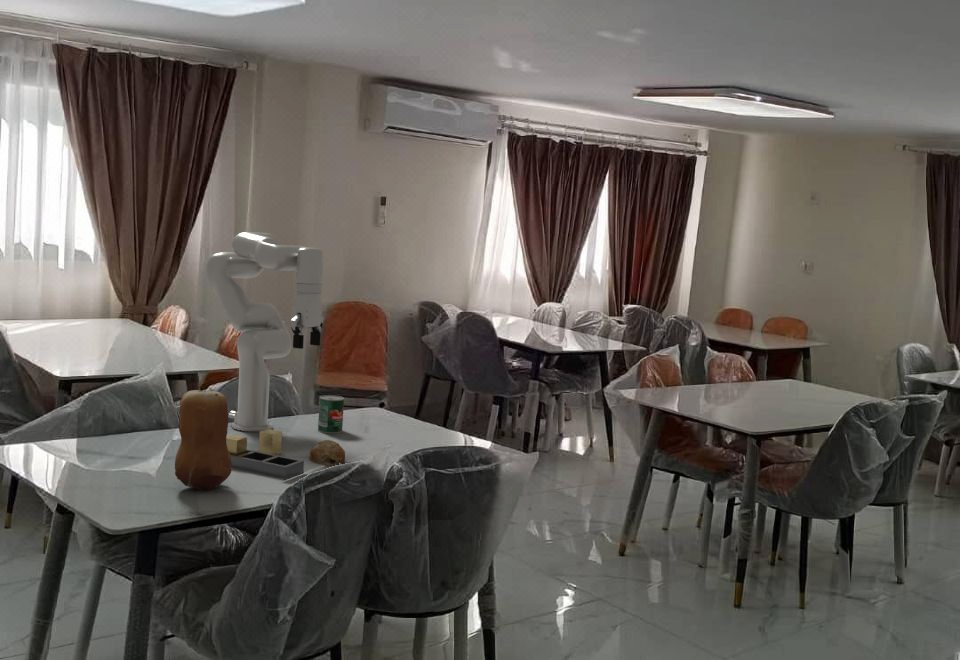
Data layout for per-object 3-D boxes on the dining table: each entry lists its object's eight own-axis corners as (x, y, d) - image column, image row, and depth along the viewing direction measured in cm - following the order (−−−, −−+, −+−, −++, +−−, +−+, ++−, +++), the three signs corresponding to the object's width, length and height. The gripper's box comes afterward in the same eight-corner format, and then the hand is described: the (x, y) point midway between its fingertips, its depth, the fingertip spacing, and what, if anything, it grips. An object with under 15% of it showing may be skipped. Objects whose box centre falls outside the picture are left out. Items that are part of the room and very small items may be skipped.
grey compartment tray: (211, 464, 268) (212, 452, 267) (231, 458, 276) (231, 446, 275) (285, 480, 258) (285, 467, 258) (303, 473, 266) (304, 460, 266)
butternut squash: (209, 477, 256) (213, 383, 252) (241, 490, 247) (245, 392, 244) (162, 486, 245) (165, 388, 242) (193, 499, 236) (197, 398, 233)
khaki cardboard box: (222, 462, 269) (223, 437, 268) (232, 459, 273) (233, 434, 272) (235, 465, 267) (237, 440, 266) (246, 462, 271) (247, 437, 270)
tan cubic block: (258, 455, 281) (259, 431, 280) (267, 452, 285) (269, 428, 284) (271, 458, 279) (272, 434, 278) (280, 455, 283) (282, 431, 282)
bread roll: (312, 477, 276) (317, 455, 272) (303, 454, 283) (308, 432, 279) (345, 475, 280) (351, 453, 276) (336, 452, 288) (341, 431, 284)
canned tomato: (321, 427, 321) (323, 394, 320) (345, 429, 320) (347, 396, 319) (314, 432, 314) (316, 398, 312) (338, 434, 313) (340, 400, 311)
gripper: (312, 287, 300) (310, 342, 301) (282, 289, 283) (280, 348, 285) (334, 289, 297) (332, 345, 299) (304, 291, 281) (302, 350, 283)
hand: (306, 346), depth 292 cm, fingers open, 9 cm apart
